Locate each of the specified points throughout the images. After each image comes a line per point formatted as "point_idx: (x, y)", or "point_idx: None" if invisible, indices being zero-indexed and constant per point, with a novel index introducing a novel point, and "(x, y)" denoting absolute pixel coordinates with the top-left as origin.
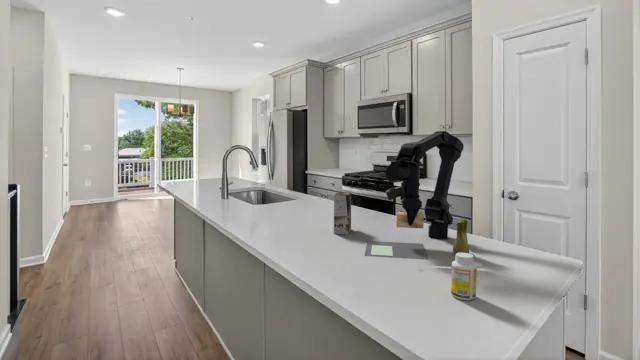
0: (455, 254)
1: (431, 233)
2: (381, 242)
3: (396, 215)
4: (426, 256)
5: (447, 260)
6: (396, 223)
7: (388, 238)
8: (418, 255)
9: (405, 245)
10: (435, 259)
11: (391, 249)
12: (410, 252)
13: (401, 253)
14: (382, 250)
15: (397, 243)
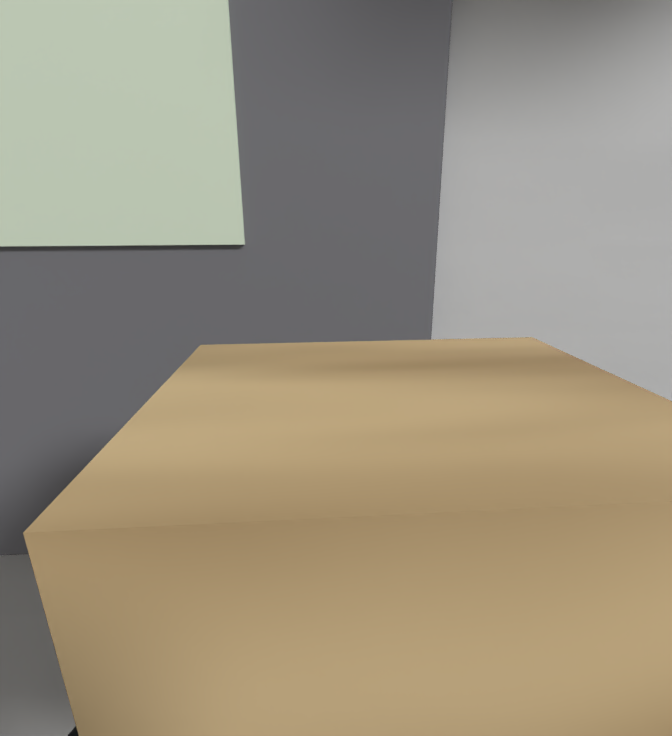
0: None
1: None
2: (401, 106)
3: (651, 415)
4: (16, 545)
5: (40, 657)
6: (394, 351)
7: (650, 204)
8: (17, 487)
9: None
10: (29, 590)
11: (100, 234)
12: (88, 424)
13: (16, 340)
14: (17, 118)
15: (389, 305)
